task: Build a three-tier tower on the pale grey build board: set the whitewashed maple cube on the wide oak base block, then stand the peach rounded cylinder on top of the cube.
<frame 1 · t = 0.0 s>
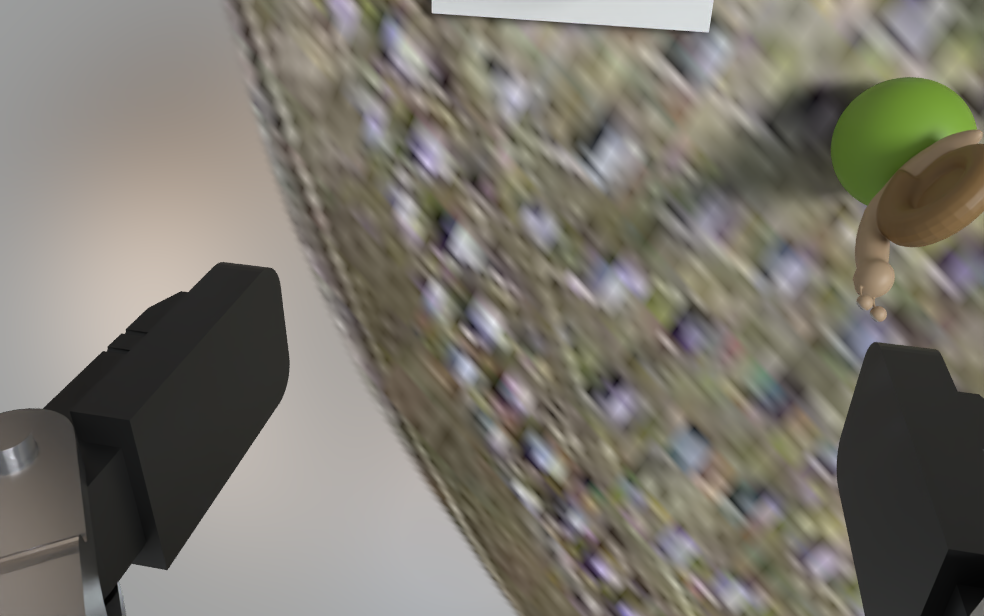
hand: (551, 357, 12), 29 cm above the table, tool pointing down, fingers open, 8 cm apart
snail figurine: (878, 130, 38), on the table
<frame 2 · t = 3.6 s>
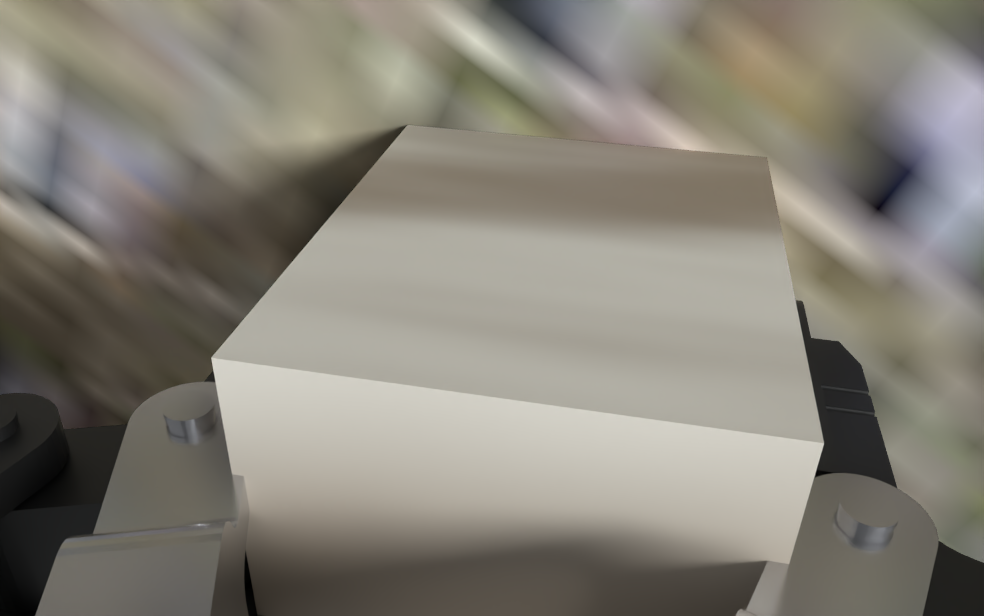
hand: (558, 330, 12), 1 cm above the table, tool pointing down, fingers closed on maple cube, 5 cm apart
maple cube: (569, 295, 13), on the table, touching gripper
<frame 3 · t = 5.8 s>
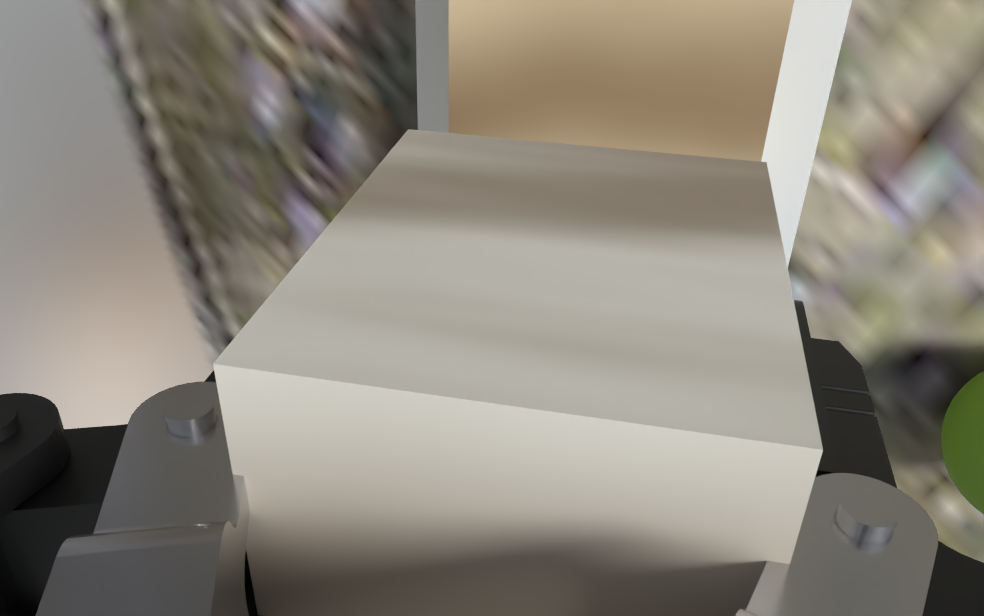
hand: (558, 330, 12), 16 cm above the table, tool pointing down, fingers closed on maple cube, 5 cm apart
maple cube: (569, 299, 13), point 15 cm above the table, touching gripper
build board: (620, 41, 26), on the table
oak base block: (617, 50, 25), point 1 cm above the table, touching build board
when the fingers open (7 cm above the table, at t = 7.8 s): maple cube stays where it is, resting on oak base block.
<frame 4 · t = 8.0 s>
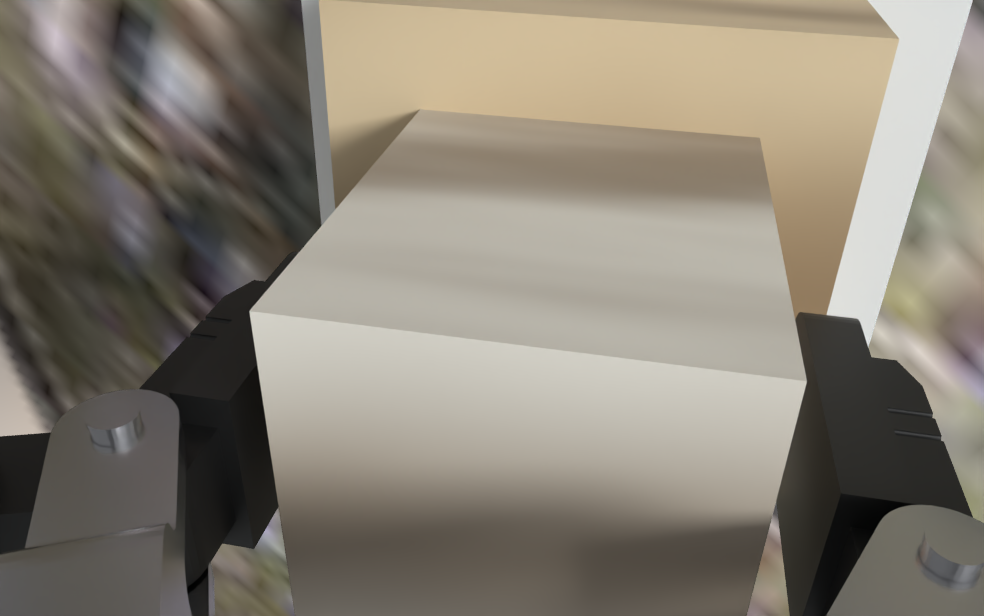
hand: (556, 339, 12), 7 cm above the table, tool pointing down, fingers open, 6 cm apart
maple cube: (573, 272, 14), point 5 cm above the table, touching oak base block
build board: (600, 158, 18), on the table
oak base block: (596, 178, 17), point 1 cm above the table, touching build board, maple cube
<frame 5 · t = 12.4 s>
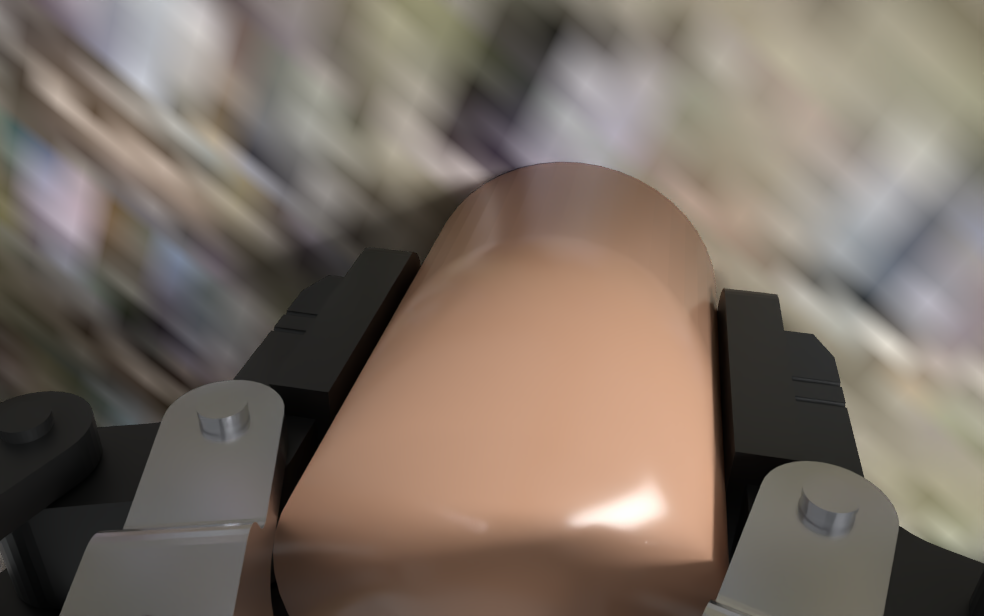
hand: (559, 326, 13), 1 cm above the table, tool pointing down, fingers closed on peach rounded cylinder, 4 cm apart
peach rounded cylinder: (568, 297, 13), on the table, touching gripper
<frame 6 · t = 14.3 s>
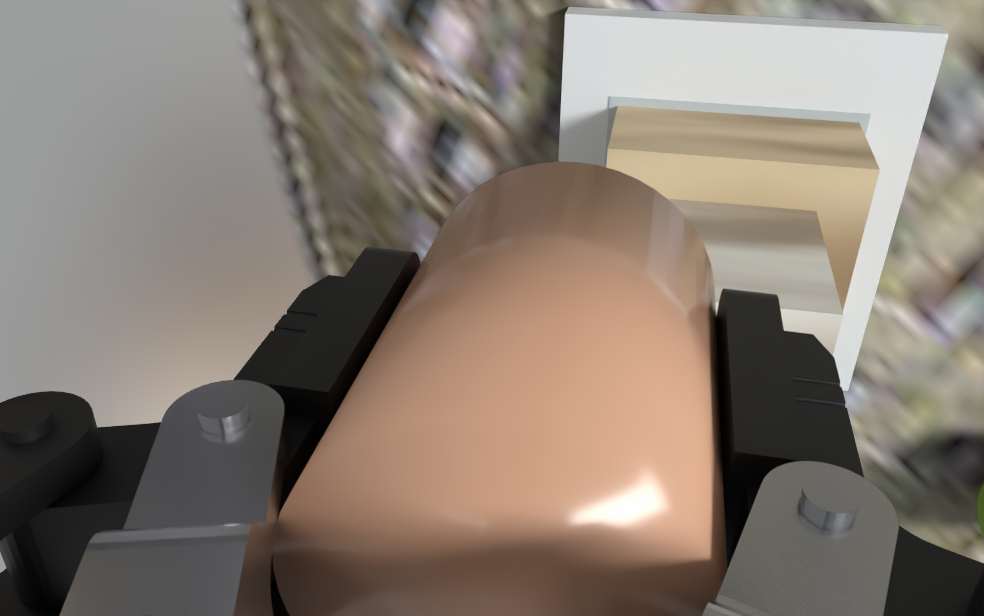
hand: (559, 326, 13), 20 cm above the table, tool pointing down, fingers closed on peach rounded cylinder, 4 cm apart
maple cube: (721, 273, 28), point 5 cm above the table, touching oak base block
peach rounded cylinder: (567, 296, 13), point 19 cm above the table, touching gripper
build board: (718, 207, 32), on the table
oak base block: (718, 219, 31), point 1 cm above the table, touching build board, maple cube
when the fingers open (13 cm above the table, at t = 16.3 s): peach rounded cylinder stays where it is, resting on maple cube.
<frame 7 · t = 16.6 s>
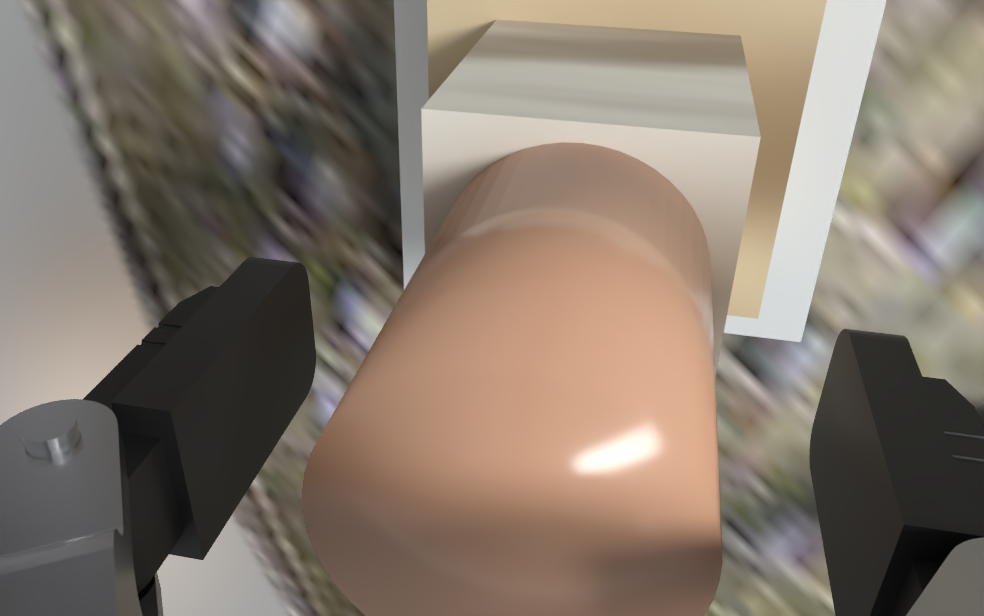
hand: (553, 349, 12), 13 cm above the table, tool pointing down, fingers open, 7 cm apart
maple cube: (605, 143, 19), point 5 cm above the table, touching oak base block, peach rounded cylinder
peach rounded cylinder: (571, 271, 14), point 11 cm above the table, touching maple cube
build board: (620, 78, 23), on the table
oak base block: (617, 89, 22), point 1 cm above the table, touching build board, maple cube
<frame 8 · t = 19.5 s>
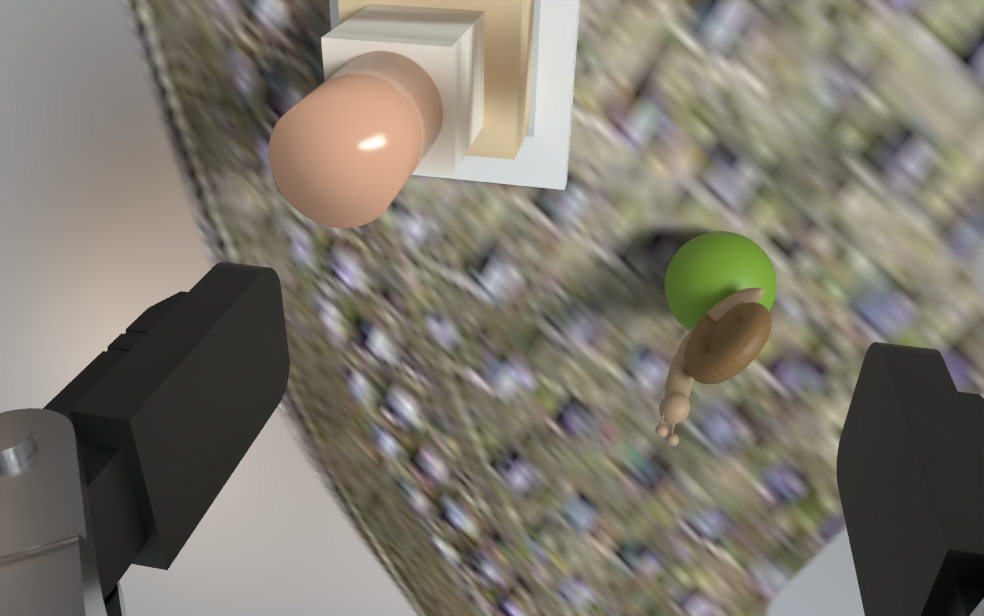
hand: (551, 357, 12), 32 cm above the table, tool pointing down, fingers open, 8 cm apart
snail figurine: (711, 264, 46), on the table
maple cube: (428, 65, 38), point 5 cm above the table, touching oak base block, peach rounded cylinder
peach rounded cylinder: (387, 108, 33), point 11 cm above the table, touching maple cube
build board: (455, 37, 42), on the table
oak base block: (449, 43, 41), point 1 cm above the table, touching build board, maple cube
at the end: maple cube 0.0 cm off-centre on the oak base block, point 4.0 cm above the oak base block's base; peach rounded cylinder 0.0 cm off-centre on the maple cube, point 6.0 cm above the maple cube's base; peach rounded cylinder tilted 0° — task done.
